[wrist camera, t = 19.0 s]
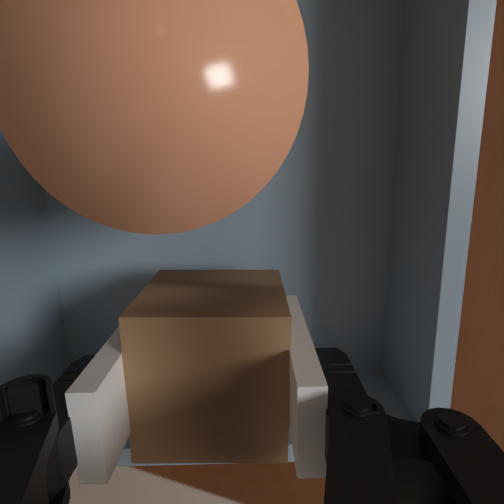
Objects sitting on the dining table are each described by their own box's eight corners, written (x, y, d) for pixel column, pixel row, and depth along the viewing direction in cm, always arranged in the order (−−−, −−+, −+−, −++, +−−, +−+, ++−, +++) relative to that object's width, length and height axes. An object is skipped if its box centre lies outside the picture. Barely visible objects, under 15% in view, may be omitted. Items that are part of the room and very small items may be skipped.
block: (166, 376, 17) (131, 463, 12) (159, 269, 16) (118, 317, 11) (277, 376, 17) (287, 462, 12) (278, 269, 16) (291, 316, 11)
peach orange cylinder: (152, 72, 16) (-52, -115, 5) (269, 68, 16) (309, -127, 5) (162, 190, 17) (14, 239, 6) (271, 187, 17) (308, 229, 6)
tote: (-6, -84, 15) (-164, -236, 9) (420, -96, 15) (525, -254, 9) (68, 381, 20) (-4, 469, 15) (388, 373, 20) (444, 457, 15)
